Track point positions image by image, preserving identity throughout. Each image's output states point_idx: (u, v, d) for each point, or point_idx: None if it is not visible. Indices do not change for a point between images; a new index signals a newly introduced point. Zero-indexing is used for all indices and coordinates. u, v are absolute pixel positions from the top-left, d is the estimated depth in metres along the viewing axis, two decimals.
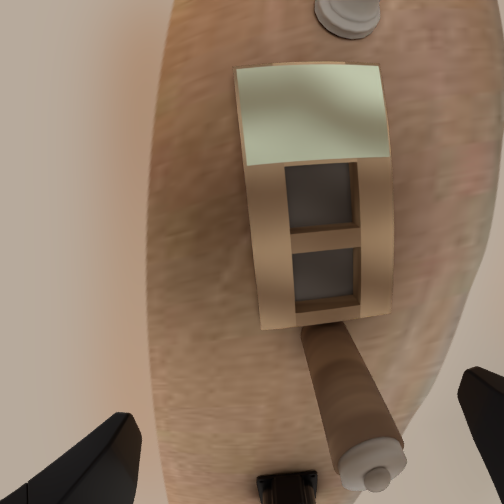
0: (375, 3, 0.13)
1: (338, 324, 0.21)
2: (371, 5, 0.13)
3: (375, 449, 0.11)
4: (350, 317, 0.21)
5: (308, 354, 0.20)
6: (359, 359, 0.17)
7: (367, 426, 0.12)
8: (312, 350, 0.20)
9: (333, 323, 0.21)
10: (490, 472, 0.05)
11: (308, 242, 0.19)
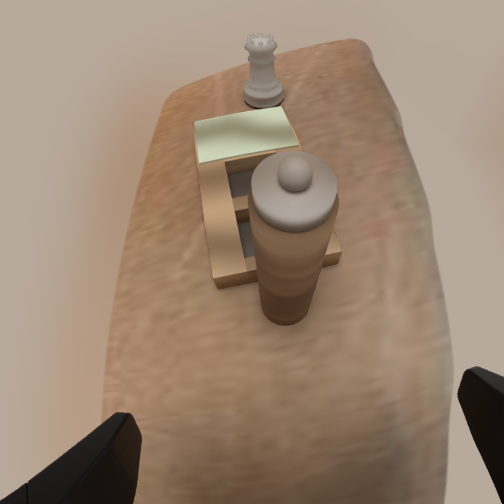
0: (270, 72, 0.29)
1: None
2: (268, 73, 0.29)
3: None
4: None
5: None
6: None
7: None
8: None
9: None
10: (489, 473, 0.05)
11: (246, 202, 0.24)
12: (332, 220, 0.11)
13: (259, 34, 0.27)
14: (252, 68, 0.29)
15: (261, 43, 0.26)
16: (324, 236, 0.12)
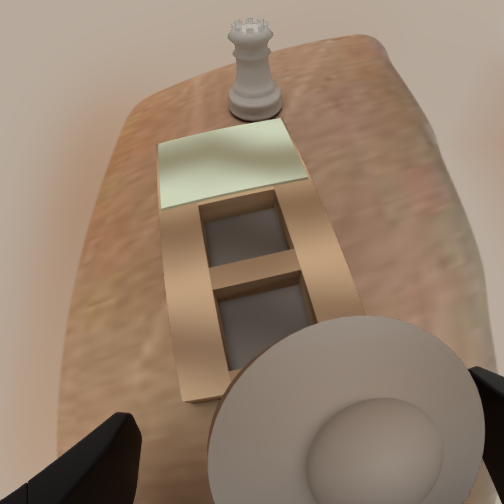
0: (263, 70, 0.21)
1: None
2: (261, 73, 0.21)
3: None
4: None
5: None
6: None
7: None
8: None
9: None
10: (490, 472, 0.05)
11: (231, 274, 0.16)
12: None
13: (249, 19, 0.19)
14: (239, 66, 0.21)
15: (251, 30, 0.18)
16: None
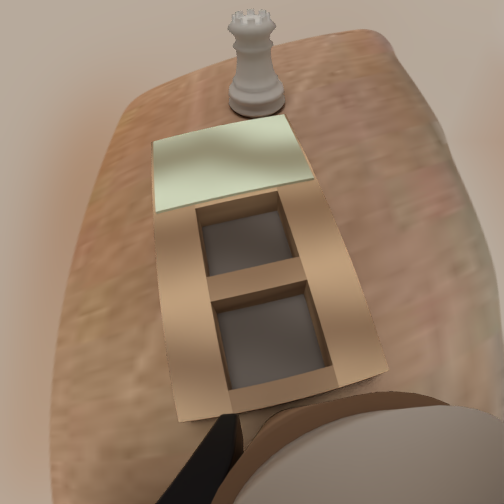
0: (265, 64, 0.20)
1: None
2: (262, 66, 0.20)
3: (343, 425, 0.02)
4: (322, 387, 0.12)
5: None
6: None
7: (313, 406, 0.03)
8: None
9: None
10: None
11: (230, 284, 0.14)
12: None
13: (250, 10, 0.17)
14: (240, 59, 0.19)
15: (252, 20, 0.16)
16: None
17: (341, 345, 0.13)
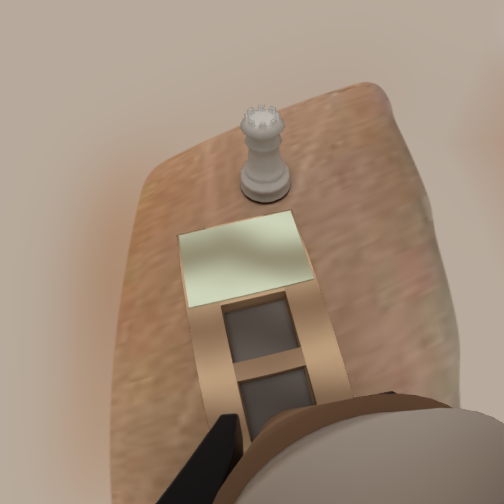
0: (274, 159, 0.24)
1: None
2: (272, 161, 0.24)
3: (344, 428, 0.02)
4: None
5: None
6: None
7: (314, 408, 0.03)
8: None
9: None
10: None
11: (251, 369, 0.19)
12: None
13: (261, 107, 0.22)
14: (251, 154, 0.24)
15: (264, 125, 0.21)
16: None
17: None
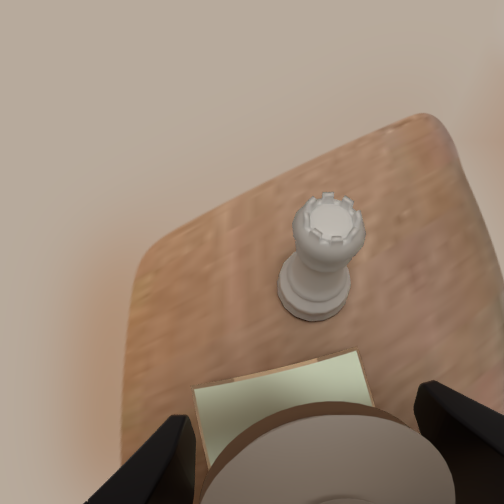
0: (338, 274, 0.16)
1: None
2: (334, 278, 0.16)
3: (292, 424, 0.03)
4: None
5: None
6: None
7: None
8: None
9: None
10: None
11: None
12: None
13: (328, 197, 0.13)
14: (305, 268, 0.15)
15: (339, 243, 0.12)
16: None
17: None
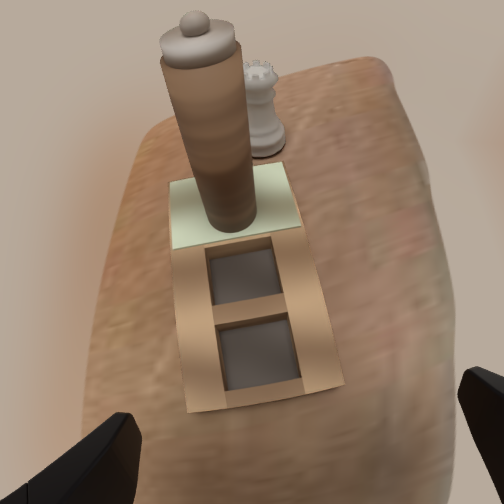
0: (268, 112, 0.24)
1: None
2: (265, 115, 0.24)
3: None
4: (292, 393, 0.17)
5: None
6: None
7: None
8: None
9: None
10: (489, 473, 0.05)
11: (230, 312, 0.19)
12: (230, 60, 0.11)
13: (255, 62, 0.21)
14: None
15: (256, 77, 0.20)
16: (225, 76, 0.11)
17: (309, 363, 0.17)
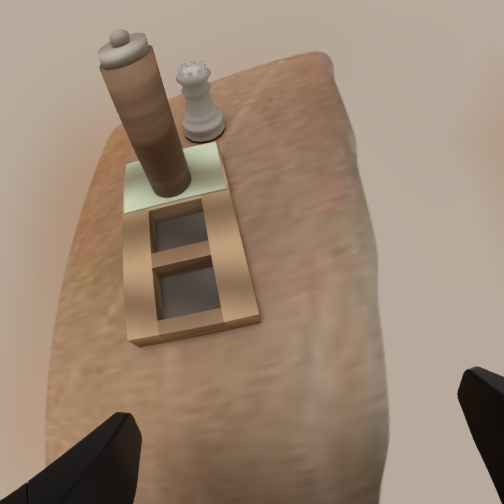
0: (205, 103, 0.28)
1: None
2: (203, 105, 0.28)
3: None
4: (213, 321, 0.20)
5: None
6: None
7: None
8: None
9: None
10: (489, 473, 0.05)
11: (164, 257, 0.23)
12: (142, 59, 0.15)
13: (192, 62, 0.25)
14: (186, 100, 0.28)
15: (190, 74, 0.24)
16: (139, 71, 0.15)
17: (227, 295, 0.21)
